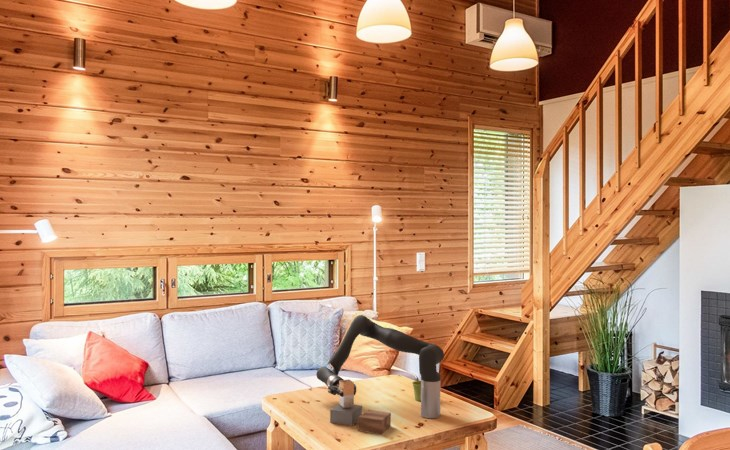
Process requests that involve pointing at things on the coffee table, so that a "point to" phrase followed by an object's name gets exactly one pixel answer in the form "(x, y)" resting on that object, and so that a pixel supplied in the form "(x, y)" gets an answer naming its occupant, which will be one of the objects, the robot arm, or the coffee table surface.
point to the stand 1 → (345, 414)
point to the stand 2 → (374, 421)
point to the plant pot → (417, 390)
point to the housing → (346, 393)
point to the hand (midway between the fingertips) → (348, 393)
